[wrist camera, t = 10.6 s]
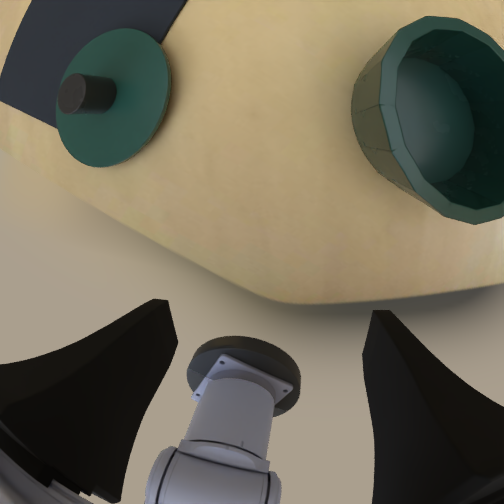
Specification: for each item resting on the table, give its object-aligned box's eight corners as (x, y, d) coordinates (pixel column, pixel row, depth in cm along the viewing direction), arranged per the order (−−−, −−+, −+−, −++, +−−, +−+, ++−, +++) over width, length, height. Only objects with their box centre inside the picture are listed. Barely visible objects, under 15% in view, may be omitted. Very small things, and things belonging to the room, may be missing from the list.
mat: (113, 155, 18) (110, 156, 17) (-4, 98, 16) (-6, 98, 16) (213, -35, 11) (211, -37, 10) (52, -30, 10) (50, -31, 9)
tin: (438, 219, 16) (487, 259, 10) (322, 137, 15) (337, 136, 9) (494, 113, 12) (553, 116, 6) (388, 24, 11) (424, -18, 5)
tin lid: (140, 187, 18) (102, 203, 14) (52, 139, 17) (14, 147, 13) (202, 49, 14) (174, 27, 10) (95, 25, 13) (59, 13, 9)
